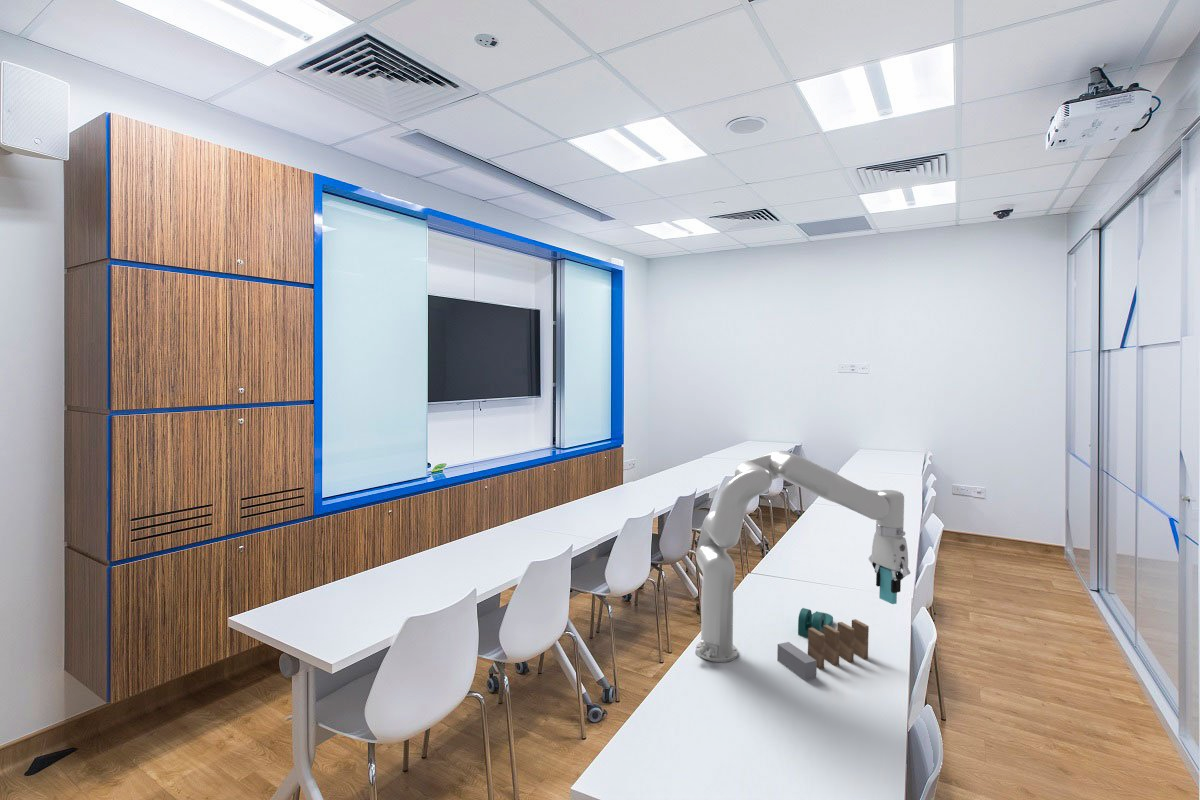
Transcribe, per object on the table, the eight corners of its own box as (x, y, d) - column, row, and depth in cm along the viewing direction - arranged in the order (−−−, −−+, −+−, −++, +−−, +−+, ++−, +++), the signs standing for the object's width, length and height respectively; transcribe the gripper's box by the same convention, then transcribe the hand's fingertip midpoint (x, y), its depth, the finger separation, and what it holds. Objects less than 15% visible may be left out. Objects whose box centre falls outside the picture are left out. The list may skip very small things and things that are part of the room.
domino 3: (841, 653, 176) (841, 621, 175) (853, 661, 171) (854, 628, 171) (836, 654, 175) (837, 622, 175) (849, 662, 171) (849, 629, 170)
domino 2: (826, 657, 174) (827, 624, 173) (839, 665, 169) (839, 631, 169) (822, 658, 173) (823, 625, 173) (834, 666, 169) (835, 632, 168)
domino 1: (812, 660, 172) (812, 627, 171) (823, 668, 167) (824, 634, 167) (807, 661, 171) (808, 628, 171) (819, 669, 167) (820, 635, 166)
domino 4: (855, 650, 178) (855, 619, 177) (867, 658, 173) (868, 625, 172) (851, 651, 177) (851, 620, 177) (863, 659, 172) (864, 626, 172)
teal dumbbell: (819, 641, 184) (819, 617, 184) (798, 635, 189) (798, 611, 188) (835, 622, 199) (835, 599, 198) (815, 616, 203) (815, 594, 202)
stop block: (788, 658, 173) (788, 641, 173) (816, 677, 162) (816, 660, 162) (777, 660, 172) (777, 644, 172) (804, 680, 161) (805, 663, 160)
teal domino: (883, 597, 181) (884, 566, 180) (896, 603, 176) (897, 571, 176) (879, 598, 180) (880, 566, 180) (892, 604, 175) (893, 572, 175)
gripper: (922, 537, 170) (921, 597, 171) (876, 522, 186) (875, 578, 187) (903, 539, 168) (902, 600, 169) (858, 525, 184) (857, 581, 185)
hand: (888, 588), depth 178 cm, fingers closed on teal domino, 4 cm apart
